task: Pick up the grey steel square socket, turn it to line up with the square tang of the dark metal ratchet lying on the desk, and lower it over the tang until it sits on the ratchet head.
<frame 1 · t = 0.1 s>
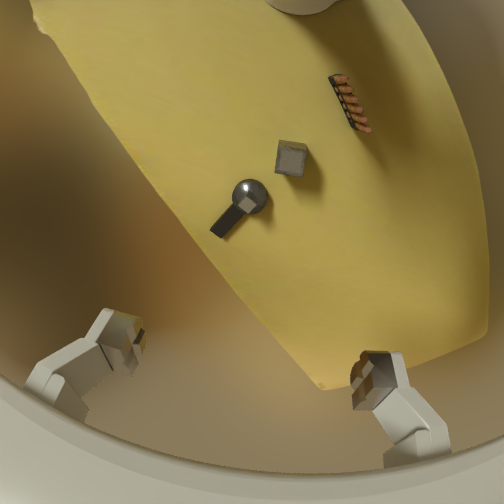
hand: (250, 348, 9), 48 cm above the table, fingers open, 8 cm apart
ratchet: (250, 194, 57), on the table
socket: (290, 153, 51), on the table
ammunition clip: (344, 100, 44), on the table
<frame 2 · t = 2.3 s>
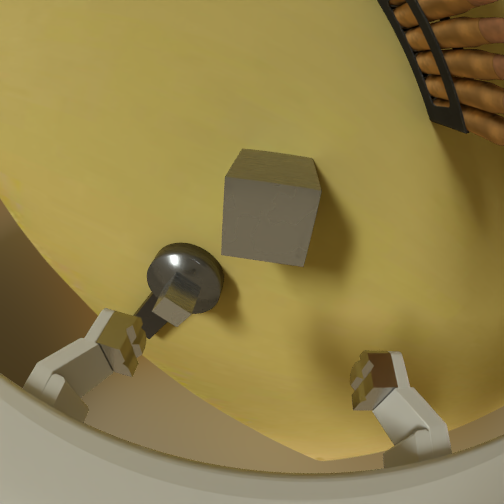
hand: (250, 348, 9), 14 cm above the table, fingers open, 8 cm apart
ratchet: (188, 273, 26), on the table
socket: (273, 184, 20), on the table
ammunition clip: (414, 51, 13), on the table
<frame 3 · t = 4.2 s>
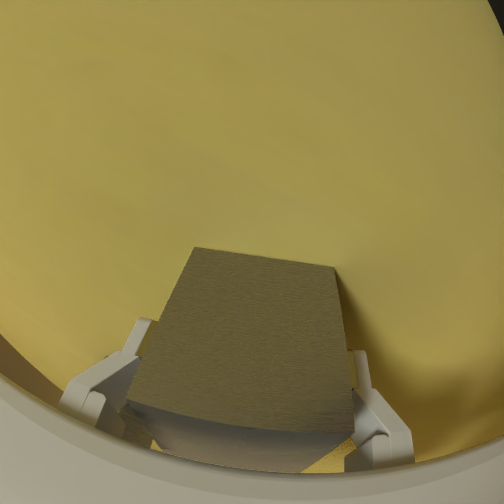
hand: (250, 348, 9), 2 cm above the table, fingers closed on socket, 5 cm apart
ratchet: (146, 384, 17), on the table
socket: (256, 307, 11), on the table, touching gripper
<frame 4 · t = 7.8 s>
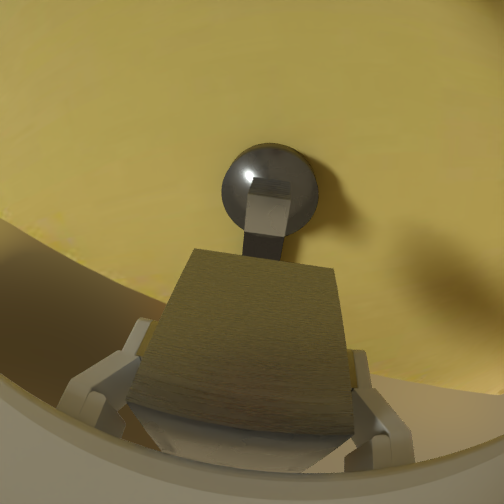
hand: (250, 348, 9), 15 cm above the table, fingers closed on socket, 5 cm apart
ratchet: (271, 186, 21), on the table
socket: (256, 308, 11), point 13 cm above the table, touching gripper
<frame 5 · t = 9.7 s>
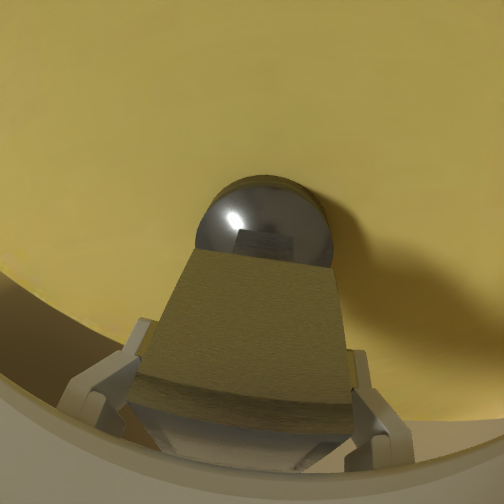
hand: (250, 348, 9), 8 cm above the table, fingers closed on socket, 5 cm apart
ratchet: (265, 234, 16), on the table
socket: (256, 308, 11), point 6 cm above the table, touching gripper
when the fingers open (5 cm above the table, at t = 11.3 s): socket stays where it is, resting on ratchet.
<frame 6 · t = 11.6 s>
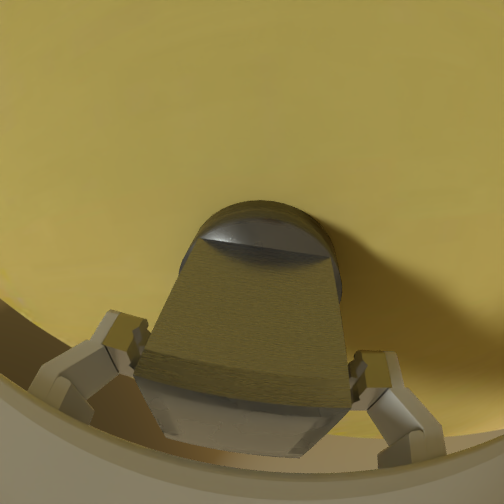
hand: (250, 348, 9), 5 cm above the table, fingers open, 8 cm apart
ratchet: (262, 268, 13), on the table, touching socket
socket: (257, 296, 12), point 2 cm above the table, touching ratchet
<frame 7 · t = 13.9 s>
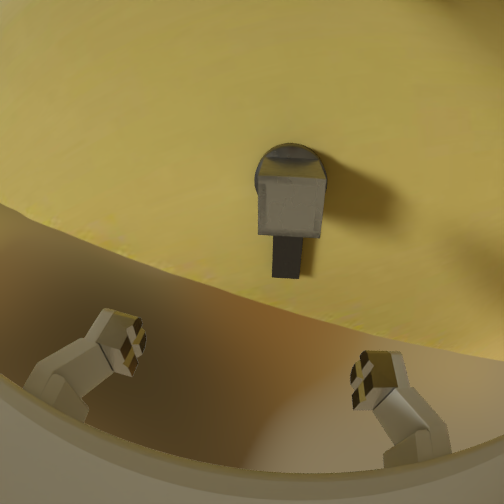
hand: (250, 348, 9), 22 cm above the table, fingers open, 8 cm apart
ratchet: (290, 176, 28), on the table, touching socket
socket: (290, 182, 26), point 2 cm above the table, touching ratchet
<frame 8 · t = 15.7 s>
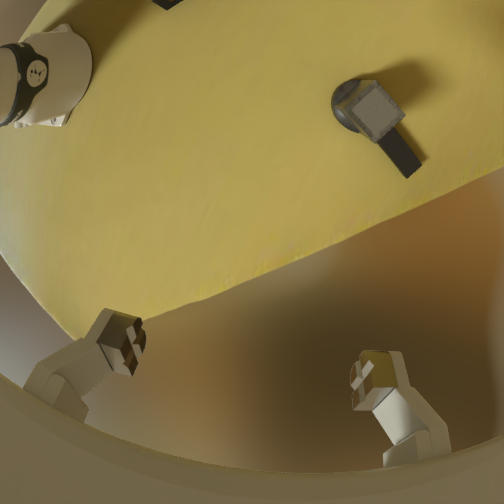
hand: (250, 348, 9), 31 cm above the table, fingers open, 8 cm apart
ratchet: (357, 105, 30), on the table, touching socket
socket: (361, 107, 29), point 2 cm above the table, touching ratchet
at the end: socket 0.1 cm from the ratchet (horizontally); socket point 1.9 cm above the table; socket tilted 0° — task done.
